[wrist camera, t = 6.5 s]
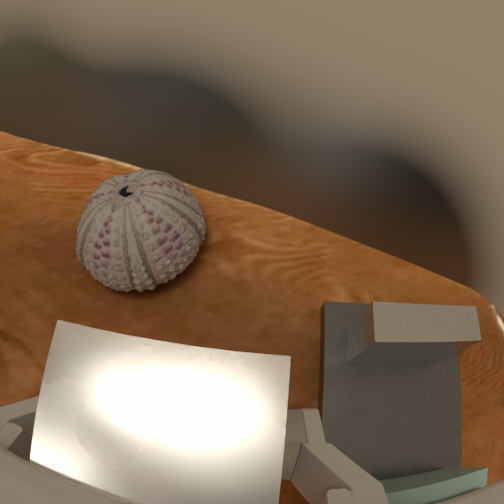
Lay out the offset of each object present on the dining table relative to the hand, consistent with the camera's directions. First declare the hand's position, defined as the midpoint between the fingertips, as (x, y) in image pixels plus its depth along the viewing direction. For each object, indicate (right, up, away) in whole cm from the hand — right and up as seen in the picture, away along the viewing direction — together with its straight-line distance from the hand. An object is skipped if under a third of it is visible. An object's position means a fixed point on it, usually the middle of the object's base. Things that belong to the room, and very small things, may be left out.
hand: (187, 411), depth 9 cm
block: (0, -3, +4) cm, 6 cm away
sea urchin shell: (-9, +6, +23) cm, 26 cm away
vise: (+14, -11, +13) cm, 22 cm away
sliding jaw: (+14, -15, +9) cm, 22 cm away
